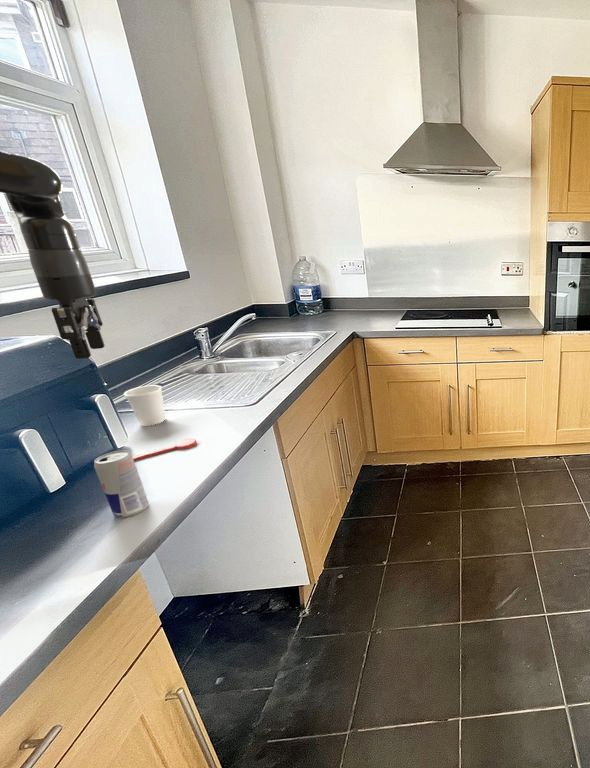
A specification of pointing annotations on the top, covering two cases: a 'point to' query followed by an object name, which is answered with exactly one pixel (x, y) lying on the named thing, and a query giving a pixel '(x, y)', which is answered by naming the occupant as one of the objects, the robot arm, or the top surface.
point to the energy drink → (121, 483)
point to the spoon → (169, 448)
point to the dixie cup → (147, 404)
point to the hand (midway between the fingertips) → (91, 352)
